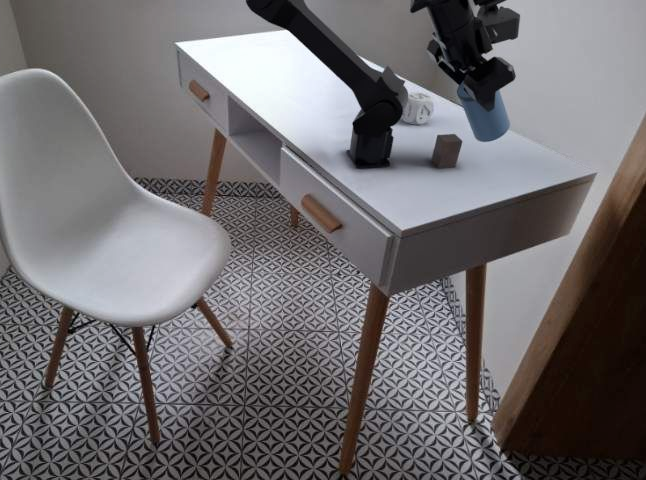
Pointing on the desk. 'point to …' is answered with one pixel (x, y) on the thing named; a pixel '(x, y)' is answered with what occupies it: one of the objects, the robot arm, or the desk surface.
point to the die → (418, 108)
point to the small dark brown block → (446, 150)
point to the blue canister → (484, 116)
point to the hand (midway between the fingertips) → (482, 101)
